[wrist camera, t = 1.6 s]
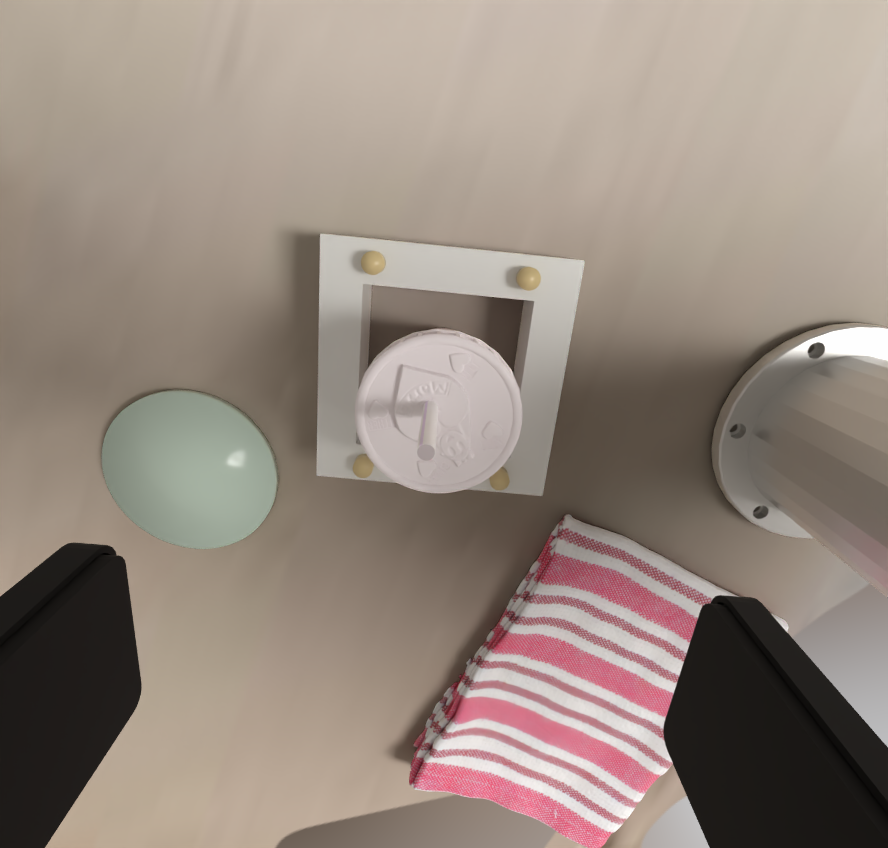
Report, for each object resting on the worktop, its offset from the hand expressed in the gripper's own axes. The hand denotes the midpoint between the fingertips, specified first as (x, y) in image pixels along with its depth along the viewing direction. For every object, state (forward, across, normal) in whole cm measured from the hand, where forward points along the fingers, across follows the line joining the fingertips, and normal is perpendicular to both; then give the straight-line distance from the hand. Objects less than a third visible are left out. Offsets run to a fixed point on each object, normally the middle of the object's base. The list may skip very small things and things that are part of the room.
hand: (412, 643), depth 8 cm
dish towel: (+22, -12, +22) cm, 33 cm away
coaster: (+21, +14, +8) cm, 26 cm away
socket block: (+21, 0, 0) cm, 21 cm away
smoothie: (+21, 0, 0) cm, 21 cm away
